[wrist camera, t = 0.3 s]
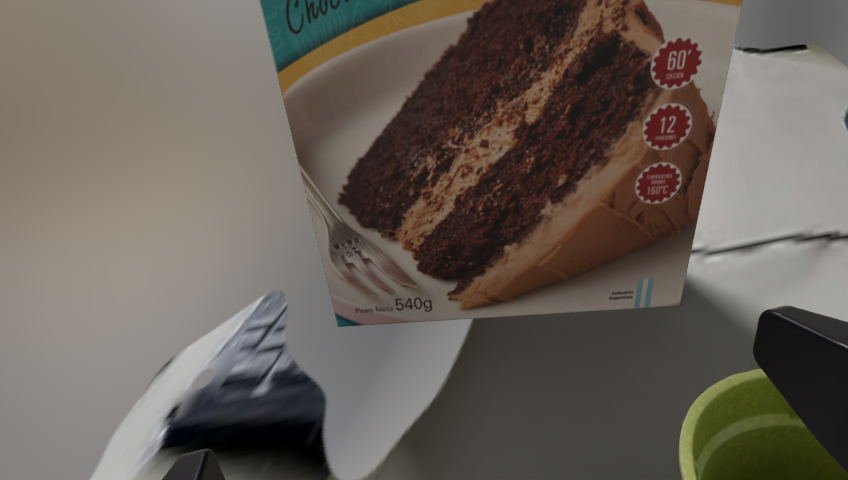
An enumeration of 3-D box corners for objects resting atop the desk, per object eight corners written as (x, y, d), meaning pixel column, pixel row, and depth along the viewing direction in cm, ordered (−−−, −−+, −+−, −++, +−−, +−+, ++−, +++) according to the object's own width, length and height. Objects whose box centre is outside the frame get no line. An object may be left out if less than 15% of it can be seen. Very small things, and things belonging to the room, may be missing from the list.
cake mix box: (337, 326, 35) (185, -306, 19) (350, 272, 40) (237, -263, 24) (679, 305, 34) (824, -397, 18) (647, 252, 39) (737, -332, 23)
